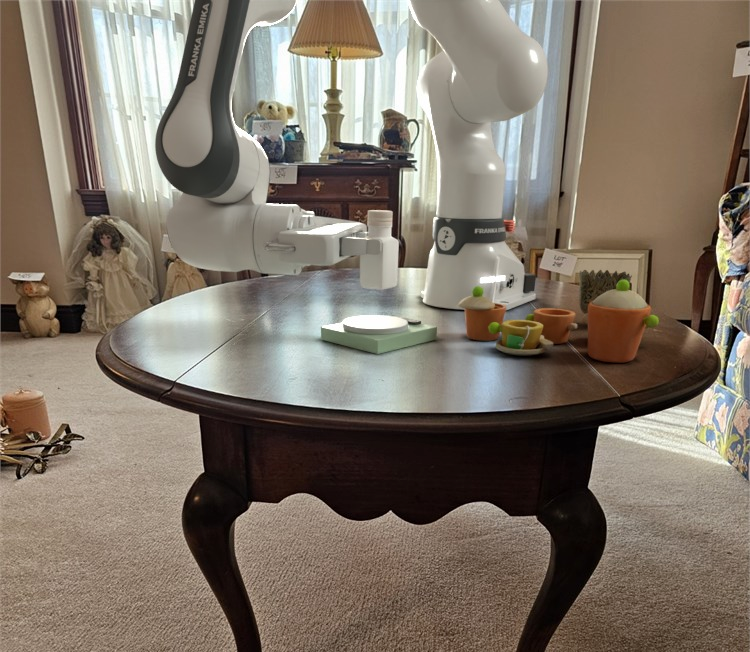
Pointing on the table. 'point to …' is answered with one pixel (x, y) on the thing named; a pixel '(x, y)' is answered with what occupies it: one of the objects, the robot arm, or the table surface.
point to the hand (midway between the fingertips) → (386, 244)
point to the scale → (378, 333)
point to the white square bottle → (384, 265)
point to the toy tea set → (564, 325)
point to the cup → (597, 285)
